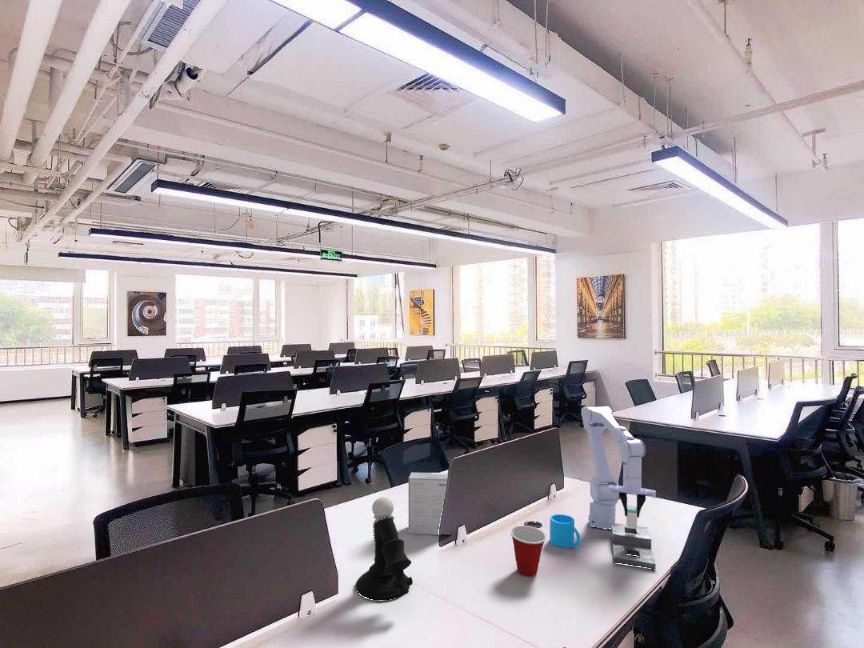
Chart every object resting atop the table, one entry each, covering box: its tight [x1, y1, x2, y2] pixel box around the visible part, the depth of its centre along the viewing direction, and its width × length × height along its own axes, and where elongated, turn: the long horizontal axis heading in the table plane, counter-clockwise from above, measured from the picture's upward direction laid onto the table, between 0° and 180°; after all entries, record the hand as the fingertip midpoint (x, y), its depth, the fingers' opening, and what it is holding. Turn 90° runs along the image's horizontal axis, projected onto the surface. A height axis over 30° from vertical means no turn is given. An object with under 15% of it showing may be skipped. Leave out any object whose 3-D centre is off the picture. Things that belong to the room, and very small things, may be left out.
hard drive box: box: [408, 471, 448, 536], centre depth 179 cm, size 16×8×20 cm, turn 84°
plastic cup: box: [510, 525, 547, 577], centre depth 150 cm, size 11×11×12 cm
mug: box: [549, 513, 581, 548], centre depth 169 cm, size 12×8×8 cm
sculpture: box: [355, 497, 413, 601], centre depth 137 cm, size 15×24×25 cm, turn 27°
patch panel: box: [610, 522, 657, 570], centre depth 164 cm, size 12×22×4 cm, turn 162°
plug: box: [625, 504, 638, 528], centre depth 168 cm, size 3×4×6 cm
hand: (631, 515), depth 167 cm, fingers closed on plug, 3 cm apart
